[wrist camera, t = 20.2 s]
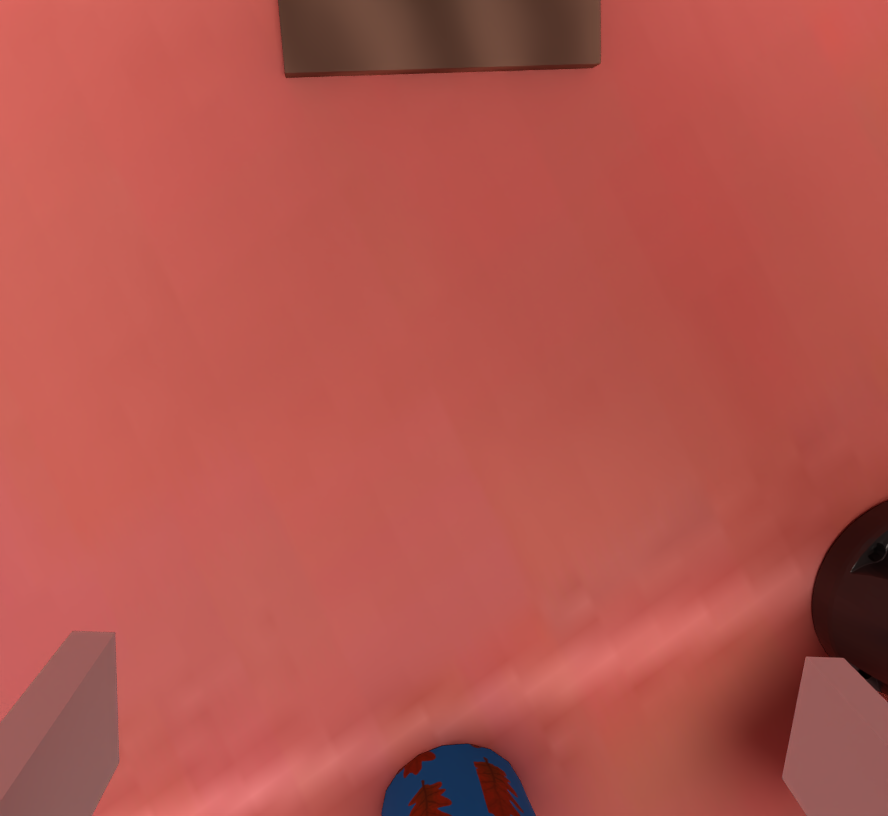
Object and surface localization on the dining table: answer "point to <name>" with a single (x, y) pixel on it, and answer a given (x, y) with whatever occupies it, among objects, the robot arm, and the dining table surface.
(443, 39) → the walnut board
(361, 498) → the dining table surface
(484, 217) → the dining table surface
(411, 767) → the thermos
